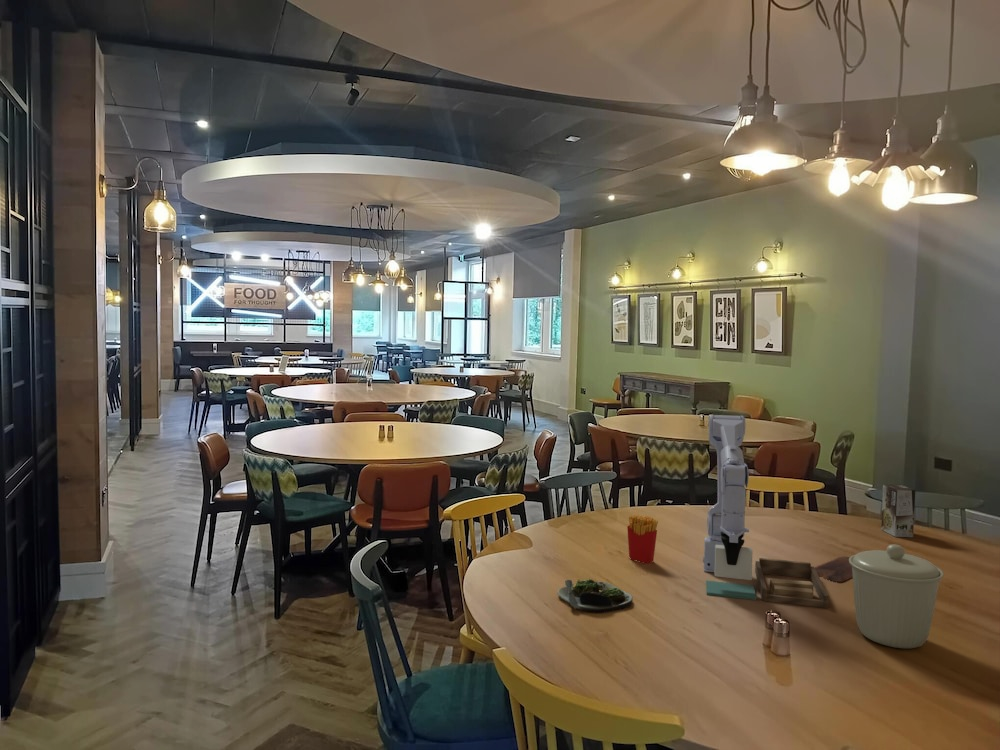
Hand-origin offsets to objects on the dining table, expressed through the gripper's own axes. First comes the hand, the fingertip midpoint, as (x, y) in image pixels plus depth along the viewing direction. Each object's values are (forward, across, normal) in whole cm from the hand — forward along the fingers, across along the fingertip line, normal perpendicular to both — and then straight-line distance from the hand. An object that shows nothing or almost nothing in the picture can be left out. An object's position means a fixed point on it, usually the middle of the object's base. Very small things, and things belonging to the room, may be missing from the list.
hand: (731, 562), depth 180 cm
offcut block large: (+8, +3, -15) cm, 17 cm away
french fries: (+8, +18, +24) cm, 31 cm away
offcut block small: (+8, -1, -15) cm, 17 cm away
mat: (+8, 0, 0) cm, 8 cm away
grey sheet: (+4, 0, 0) cm, 4 cm away
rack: (+8, +7, -15) cm, 18 cm away
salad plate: (+8, -17, +33) cm, 38 cm away
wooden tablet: (+8, +29, -32) cm, 44 cm away
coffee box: (+8, +74, -57) cm, 94 cm away
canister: (+8, -19, -33) cm, 39 cm away
